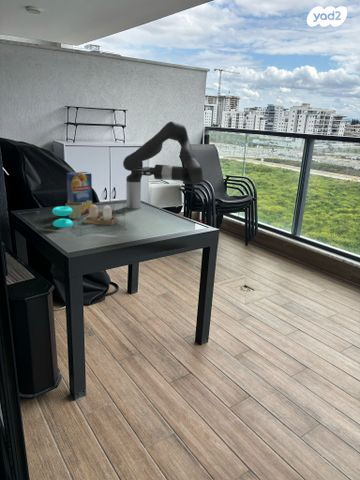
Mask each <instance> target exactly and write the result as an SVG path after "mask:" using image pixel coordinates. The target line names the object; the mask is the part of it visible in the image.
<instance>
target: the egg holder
mask: <svg viewBox="0 0 360 480" xmlns="http://www.w3.org/2000/svg"><path fill="white" fill-rule="evenodd" d="M117 222H118V217H116V216H112V221H106V220H103V215H98V219H97V220H95V219H89V214H88V215H87V216H85V217H83V218H82V224H83V223H85V224H95V225H102V226H103V225H104V226H105V225H106V226H113V225H115V224H116V223H117Z"/></svg>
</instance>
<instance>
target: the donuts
mask: <svg viewBox="0 0 360 480" xmlns="http://www.w3.org/2000/svg"><path fill="white" fill-rule="evenodd" d="M71 213H72V208H70V207H67V206H66V205H65V206H63V205H62V206H56V207H53V209H52V214H53V215H55V216H58V217H59V216H60V217H67V216H69V215H70V214H71ZM52 225H53V227H56V228H69V227H72V226H73V225H74V222H73V221H72V220H71V219H70V218H58V219H55V220H54V221H53V223H52Z"/></svg>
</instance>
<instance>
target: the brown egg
mask: <svg viewBox="0 0 360 480" xmlns="http://www.w3.org/2000/svg"><path fill="white" fill-rule="evenodd" d="M88 215H89V219H95V220H97V219H98V216H99V208H98V206H97V205H96V204H94V203H92V205H90V207H89V212H88Z"/></svg>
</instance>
